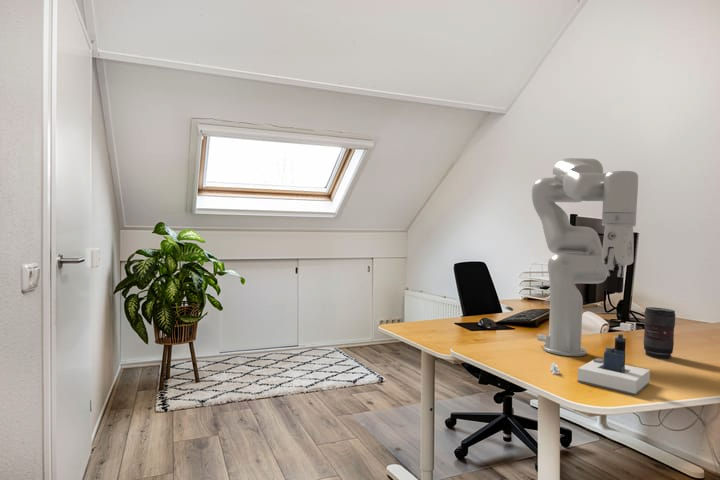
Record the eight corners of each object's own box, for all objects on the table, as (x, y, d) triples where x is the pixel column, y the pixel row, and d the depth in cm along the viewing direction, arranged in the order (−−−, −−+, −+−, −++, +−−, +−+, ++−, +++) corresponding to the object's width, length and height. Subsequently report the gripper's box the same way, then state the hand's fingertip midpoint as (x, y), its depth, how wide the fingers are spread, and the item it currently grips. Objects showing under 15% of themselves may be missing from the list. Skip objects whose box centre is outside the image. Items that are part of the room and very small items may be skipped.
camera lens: (678, 360, 138) (680, 311, 138) (649, 358, 140) (651, 310, 140) (666, 353, 146) (668, 307, 146) (638, 351, 148) (640, 306, 148)
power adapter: (548, 373, 124) (548, 361, 124) (558, 373, 124) (558, 361, 124) (553, 376, 121) (553, 364, 121) (562, 376, 121) (563, 365, 121)
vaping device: (620, 384, 113) (622, 336, 113) (600, 378, 118) (602, 331, 117) (626, 382, 114) (628, 335, 114) (607, 376, 119) (608, 331, 119)
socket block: (577, 381, 116) (578, 366, 116) (594, 371, 125) (595, 357, 125) (635, 395, 107) (635, 378, 106) (649, 383, 116) (650, 367, 116)
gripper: (626, 220, 107) (622, 297, 108) (643, 220, 118) (639, 291, 119) (592, 219, 113) (589, 293, 113) (611, 220, 123) (608, 287, 124)
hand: (614, 291), depth 116 cm, fingers closed
